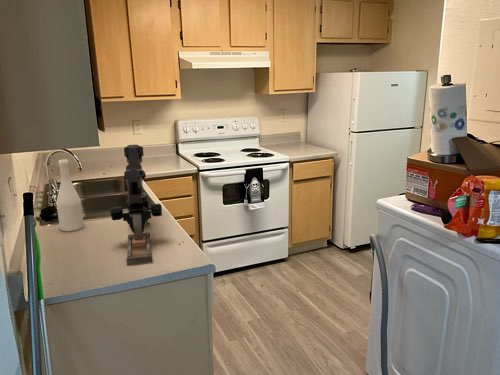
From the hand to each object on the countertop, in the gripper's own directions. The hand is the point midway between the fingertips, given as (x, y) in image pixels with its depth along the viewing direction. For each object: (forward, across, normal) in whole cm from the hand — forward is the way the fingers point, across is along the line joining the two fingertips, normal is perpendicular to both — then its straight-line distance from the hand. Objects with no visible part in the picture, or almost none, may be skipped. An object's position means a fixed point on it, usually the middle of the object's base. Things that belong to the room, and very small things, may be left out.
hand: (138, 231), depth 152 cm
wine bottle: (-17, -28, +27) cm, 43 cm away
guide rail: (+6, 0, +3) cm, 7 cm away
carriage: (+3, 0, +5) cm, 5 cm away
